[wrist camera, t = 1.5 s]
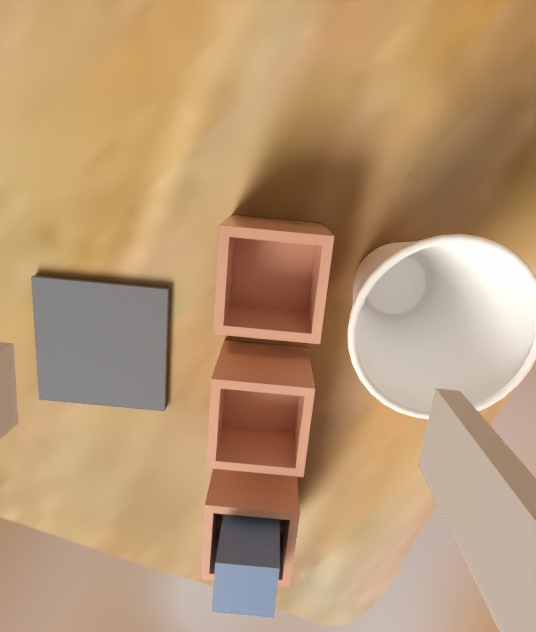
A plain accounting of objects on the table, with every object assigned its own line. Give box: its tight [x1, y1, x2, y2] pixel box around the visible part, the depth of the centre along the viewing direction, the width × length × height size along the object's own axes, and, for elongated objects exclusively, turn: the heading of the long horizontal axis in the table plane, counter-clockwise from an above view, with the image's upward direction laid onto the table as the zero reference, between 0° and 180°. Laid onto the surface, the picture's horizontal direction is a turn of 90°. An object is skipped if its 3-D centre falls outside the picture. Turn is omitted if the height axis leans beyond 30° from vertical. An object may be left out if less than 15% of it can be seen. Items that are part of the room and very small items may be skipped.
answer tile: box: [31, 275, 170, 411], centre depth 35 cm, size 10×10×1 cm
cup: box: [348, 234, 536, 419], centre depth 28 cm, size 10×10×11 cm
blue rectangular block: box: [212, 514, 280, 617], centre depth 33 cm, size 4×4×8 cm
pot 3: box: [201, 469, 300, 587], centre depth 36 cm, size 6×6×7 cm
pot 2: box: [206, 340, 315, 477], centre depth 33 cm, size 6×6×7 cm
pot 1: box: [213, 215, 334, 344], centre depth 30 cm, size 6×6×7 cm
